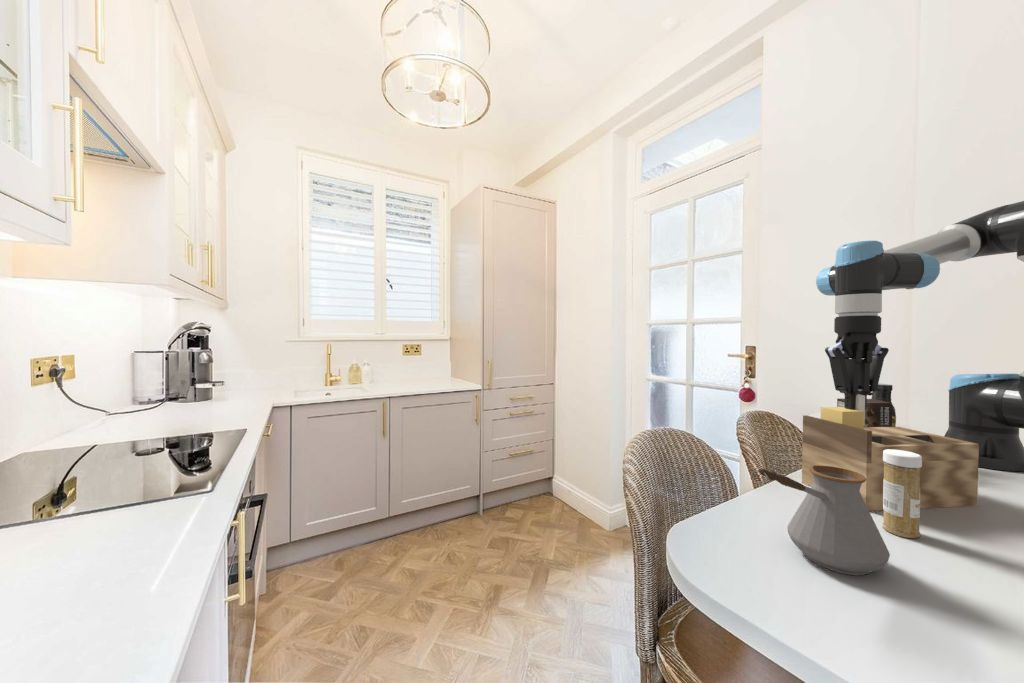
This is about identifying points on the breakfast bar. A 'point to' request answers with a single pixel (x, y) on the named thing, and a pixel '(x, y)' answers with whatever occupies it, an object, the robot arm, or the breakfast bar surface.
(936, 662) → the breakfast bar surface
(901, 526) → the sprinkles bottle
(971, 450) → the box
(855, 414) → the ochre block
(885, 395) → the sauce bottle
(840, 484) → the coffee pot
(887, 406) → the coffee box
